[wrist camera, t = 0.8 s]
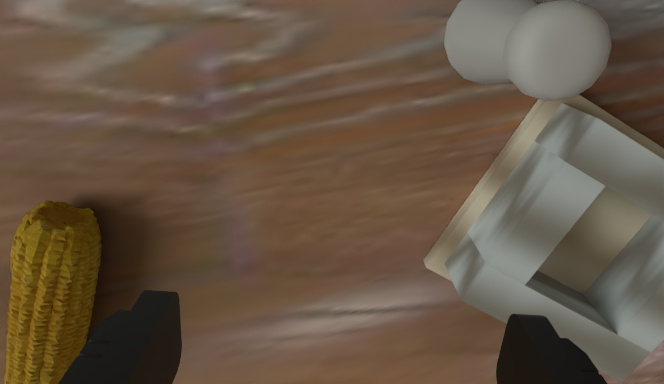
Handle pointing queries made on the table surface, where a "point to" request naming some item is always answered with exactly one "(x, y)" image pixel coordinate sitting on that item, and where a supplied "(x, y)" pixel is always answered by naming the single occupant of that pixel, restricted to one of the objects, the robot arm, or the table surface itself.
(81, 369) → the robot arm
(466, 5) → the salt shaker
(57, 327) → the food
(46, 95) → the table surface
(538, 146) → the caddy
